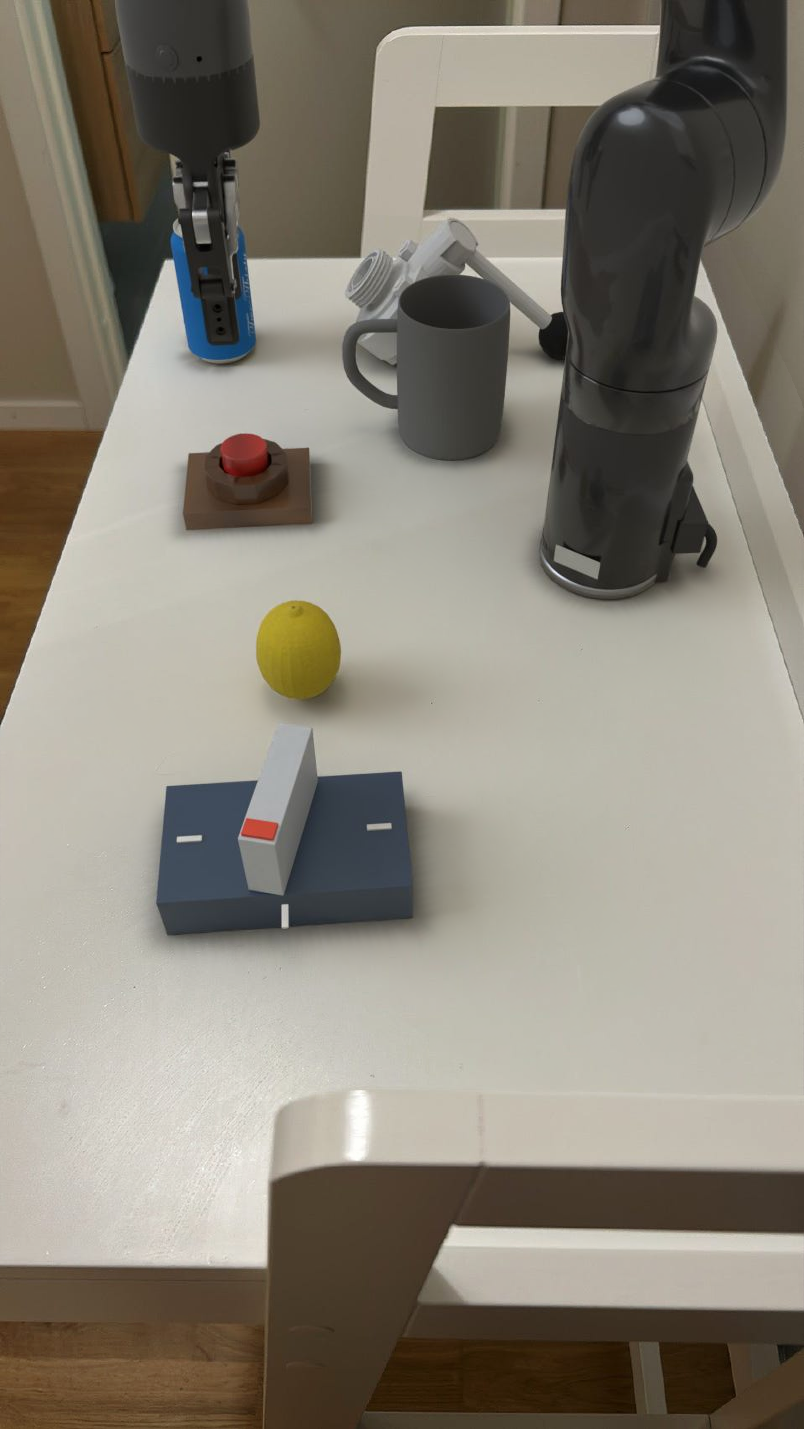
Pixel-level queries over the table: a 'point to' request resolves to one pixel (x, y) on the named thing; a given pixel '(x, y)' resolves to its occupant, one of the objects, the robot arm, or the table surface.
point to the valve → (438, 255)
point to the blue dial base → (327, 867)
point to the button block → (248, 491)
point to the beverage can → (194, 307)
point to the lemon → (298, 649)
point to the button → (244, 455)
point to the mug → (444, 364)
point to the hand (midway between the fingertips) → (225, 318)
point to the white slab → (279, 809)
